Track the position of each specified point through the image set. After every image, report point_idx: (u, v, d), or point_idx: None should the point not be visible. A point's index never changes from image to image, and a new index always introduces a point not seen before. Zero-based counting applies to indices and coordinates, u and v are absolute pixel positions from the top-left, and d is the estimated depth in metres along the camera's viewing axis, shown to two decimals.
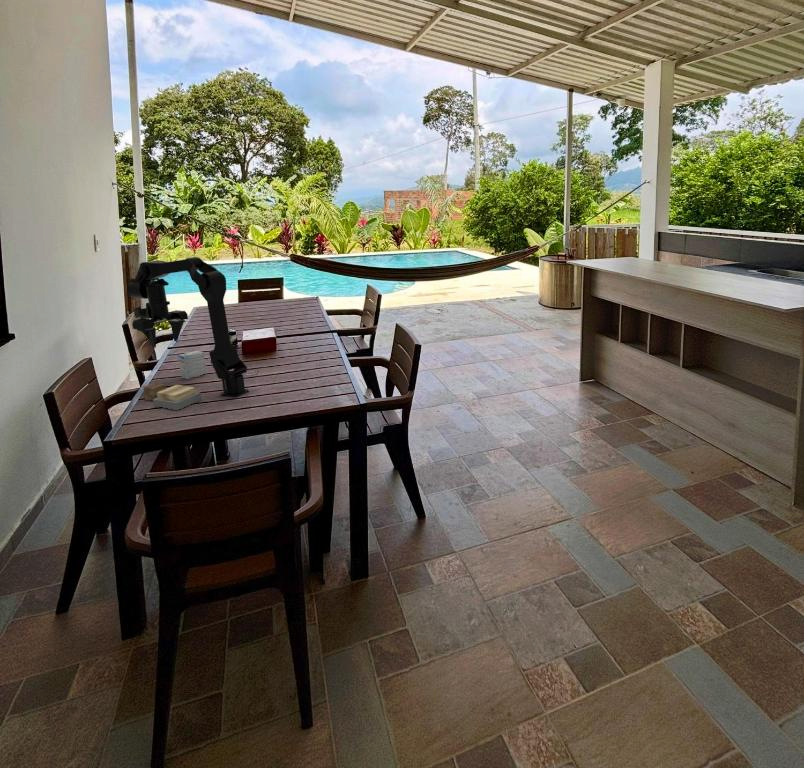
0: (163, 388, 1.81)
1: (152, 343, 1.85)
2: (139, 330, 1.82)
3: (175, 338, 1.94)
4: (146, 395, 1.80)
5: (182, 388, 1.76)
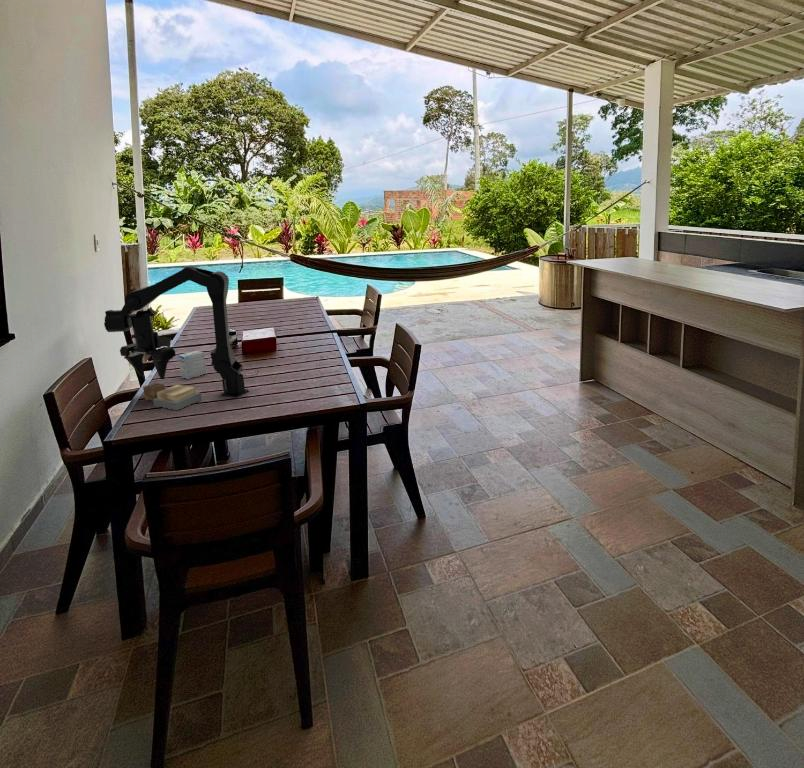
0: (163, 388, 1.81)
1: None
2: None
3: None
4: (146, 395, 1.80)
5: (182, 388, 1.76)
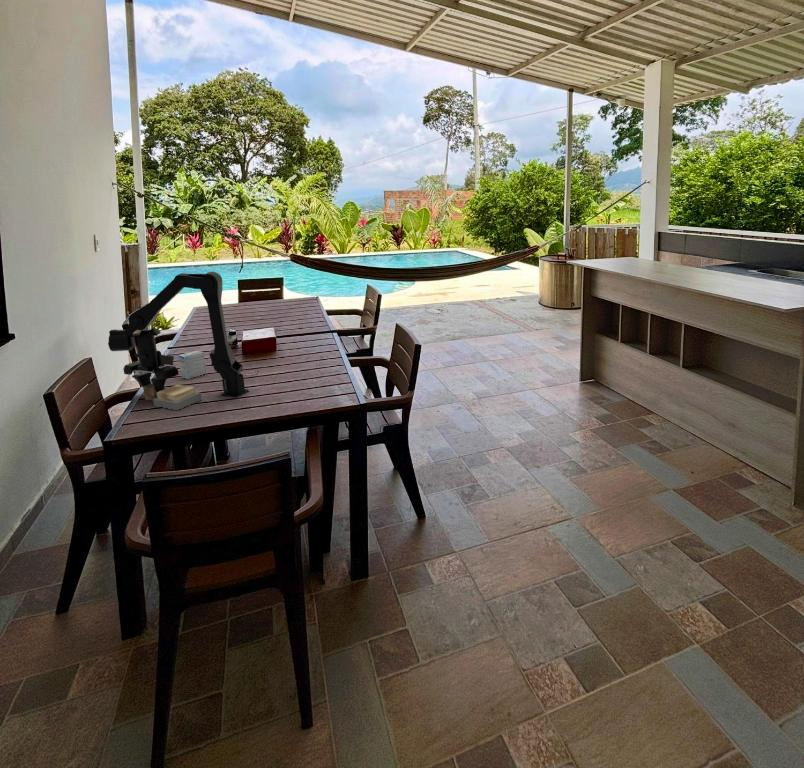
0: None
1: None
2: None
3: None
4: (146, 395, 1.80)
5: (182, 388, 1.76)
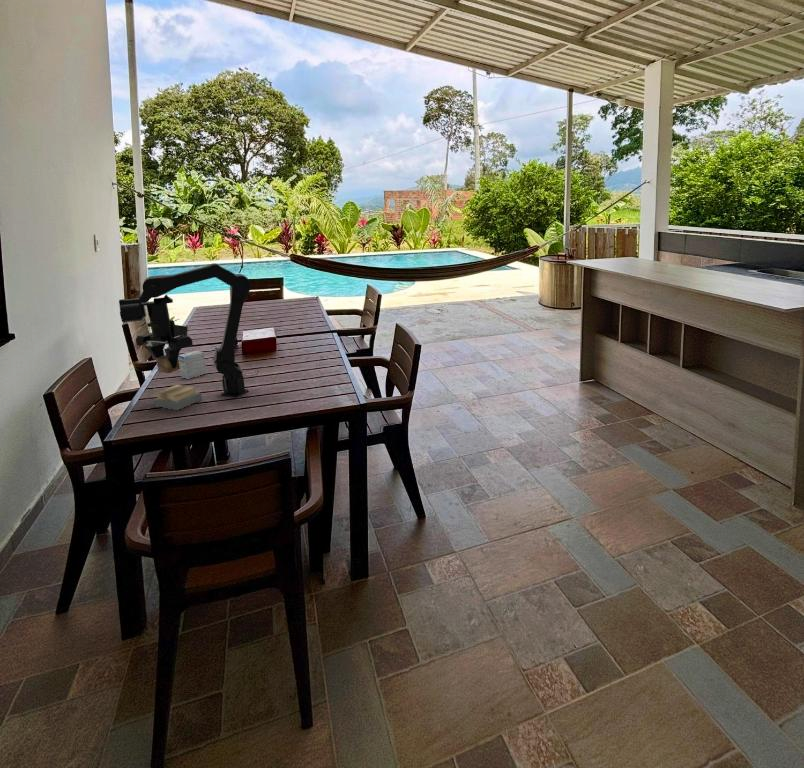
0: None
1: None
2: None
3: None
4: (159, 367, 1.72)
5: (182, 388, 1.76)
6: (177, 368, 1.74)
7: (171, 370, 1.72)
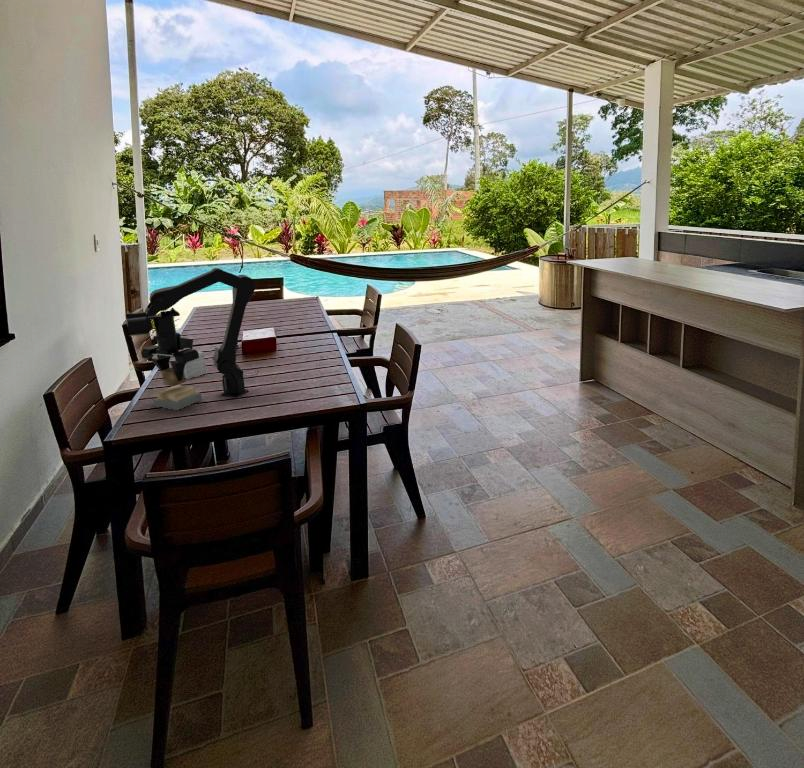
0: None
1: None
2: None
3: None
4: (165, 379, 1.72)
5: (182, 388, 1.76)
6: (183, 381, 1.74)
7: (177, 383, 1.72)
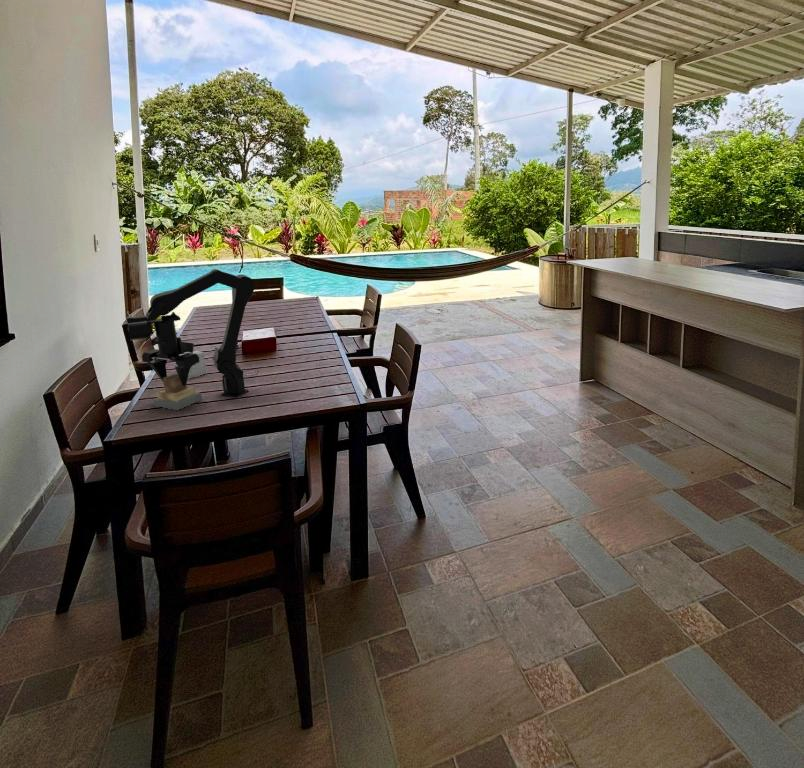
0: None
1: None
2: None
3: None
4: (166, 386, 1.73)
5: None
6: (184, 388, 1.75)
7: (178, 390, 1.73)
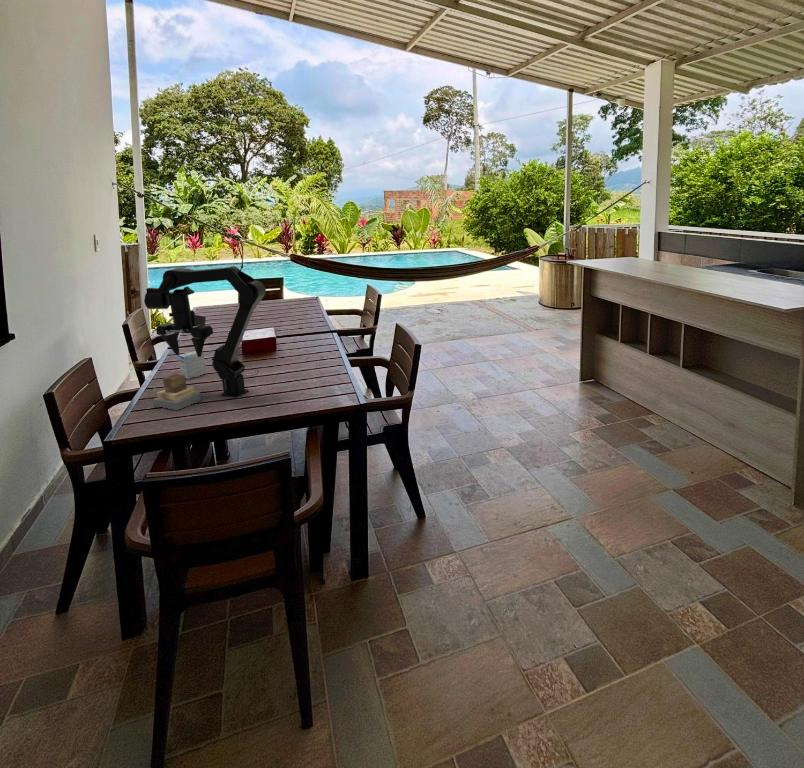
0: (183, 379, 1.74)
1: None
2: None
3: None
4: (166, 386, 1.73)
5: None
6: (184, 388, 1.75)
7: (178, 390, 1.73)
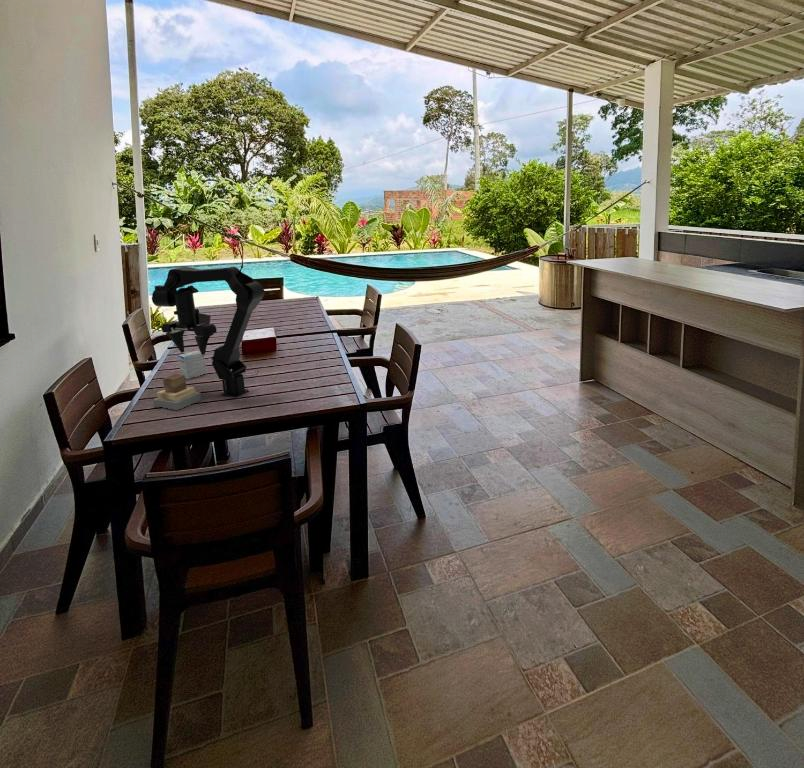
0: (183, 379, 1.74)
1: None
2: None
3: None
4: (166, 386, 1.73)
5: None
6: (184, 388, 1.75)
7: (178, 390, 1.73)
